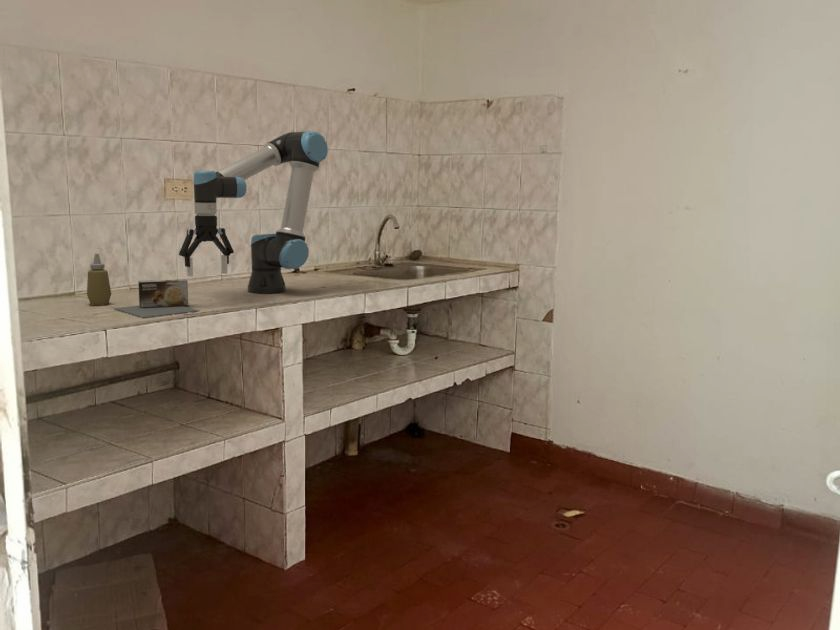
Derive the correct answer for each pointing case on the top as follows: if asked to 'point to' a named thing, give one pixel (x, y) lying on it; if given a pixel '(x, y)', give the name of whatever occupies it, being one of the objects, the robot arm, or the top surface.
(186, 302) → the coffee box
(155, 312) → the mat
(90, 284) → the squeeze bottle
